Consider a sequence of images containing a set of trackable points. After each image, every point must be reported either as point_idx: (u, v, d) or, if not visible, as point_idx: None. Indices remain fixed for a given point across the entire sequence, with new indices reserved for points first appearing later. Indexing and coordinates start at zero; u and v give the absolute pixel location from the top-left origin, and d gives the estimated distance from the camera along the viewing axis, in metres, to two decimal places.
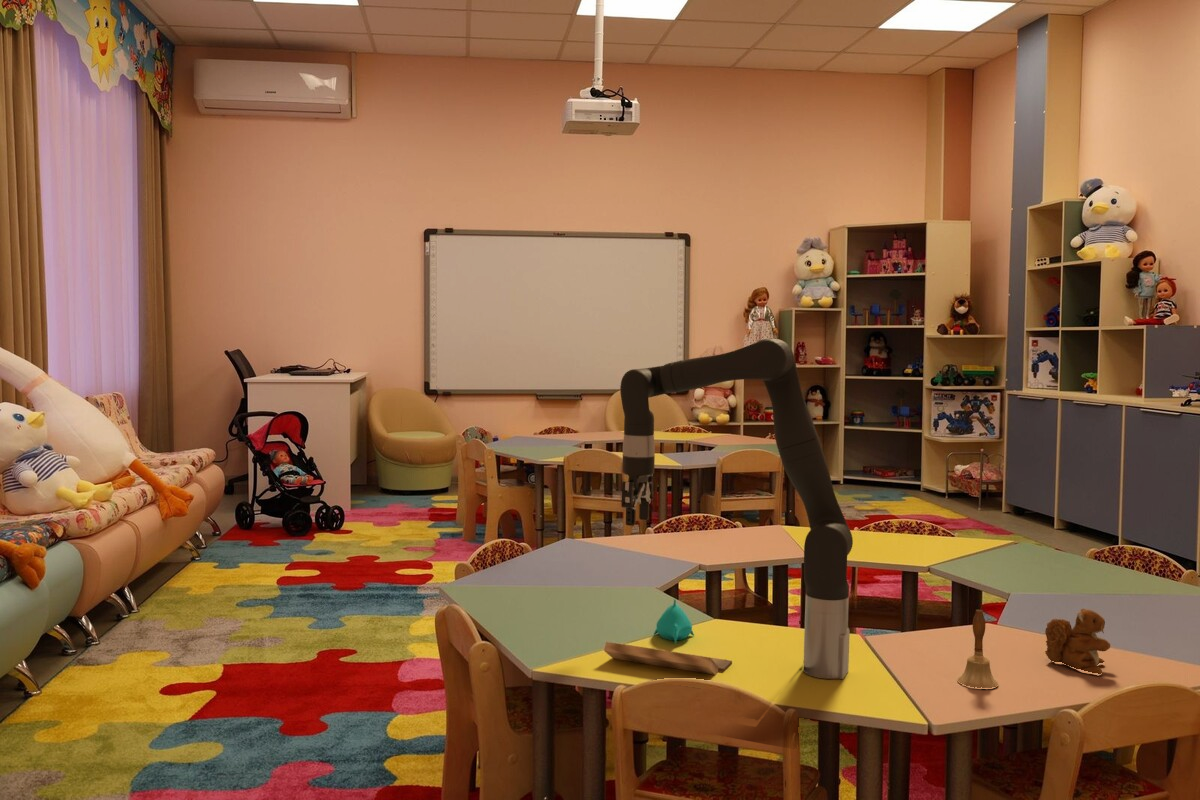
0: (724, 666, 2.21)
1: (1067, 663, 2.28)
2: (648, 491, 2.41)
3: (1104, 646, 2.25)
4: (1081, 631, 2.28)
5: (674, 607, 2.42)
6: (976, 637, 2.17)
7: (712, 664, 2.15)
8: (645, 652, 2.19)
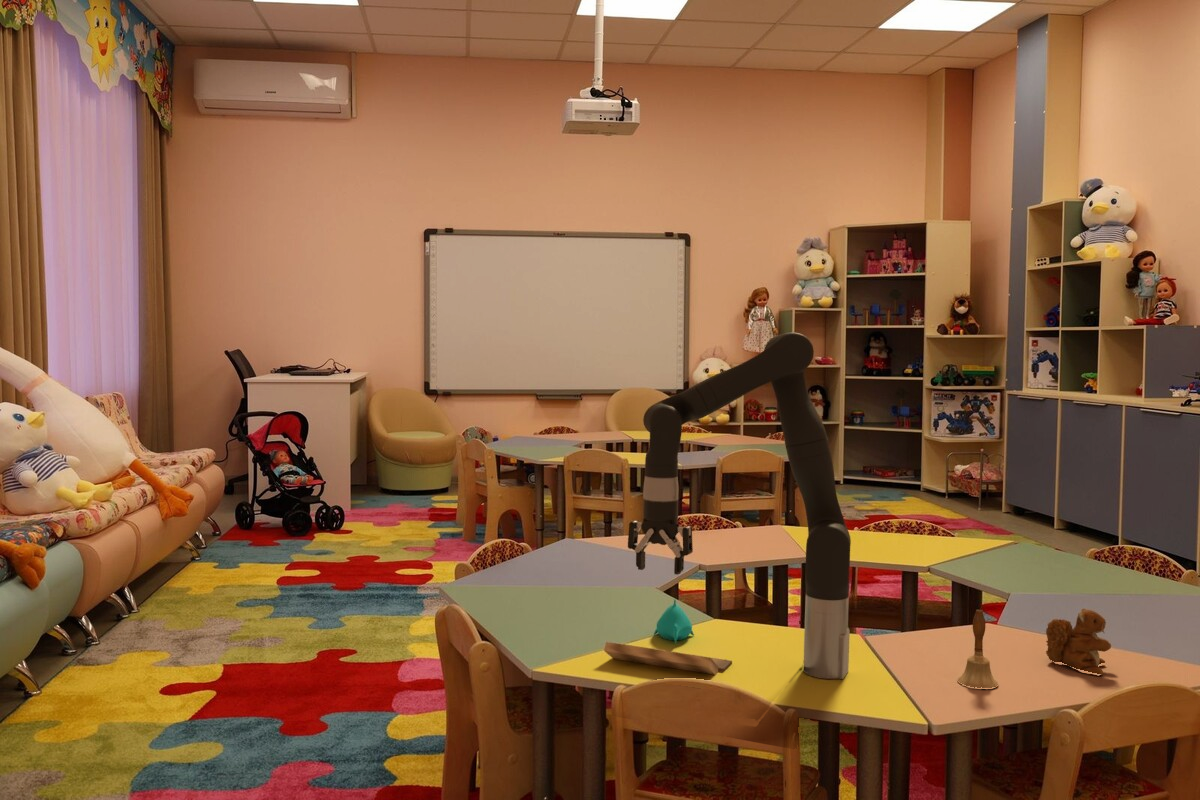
0: (724, 666, 2.21)
1: (1068, 663, 2.28)
2: None
3: (1104, 646, 2.25)
4: (1082, 631, 2.28)
5: (674, 607, 2.42)
6: (976, 637, 2.17)
7: (712, 664, 2.15)
8: (645, 652, 2.19)
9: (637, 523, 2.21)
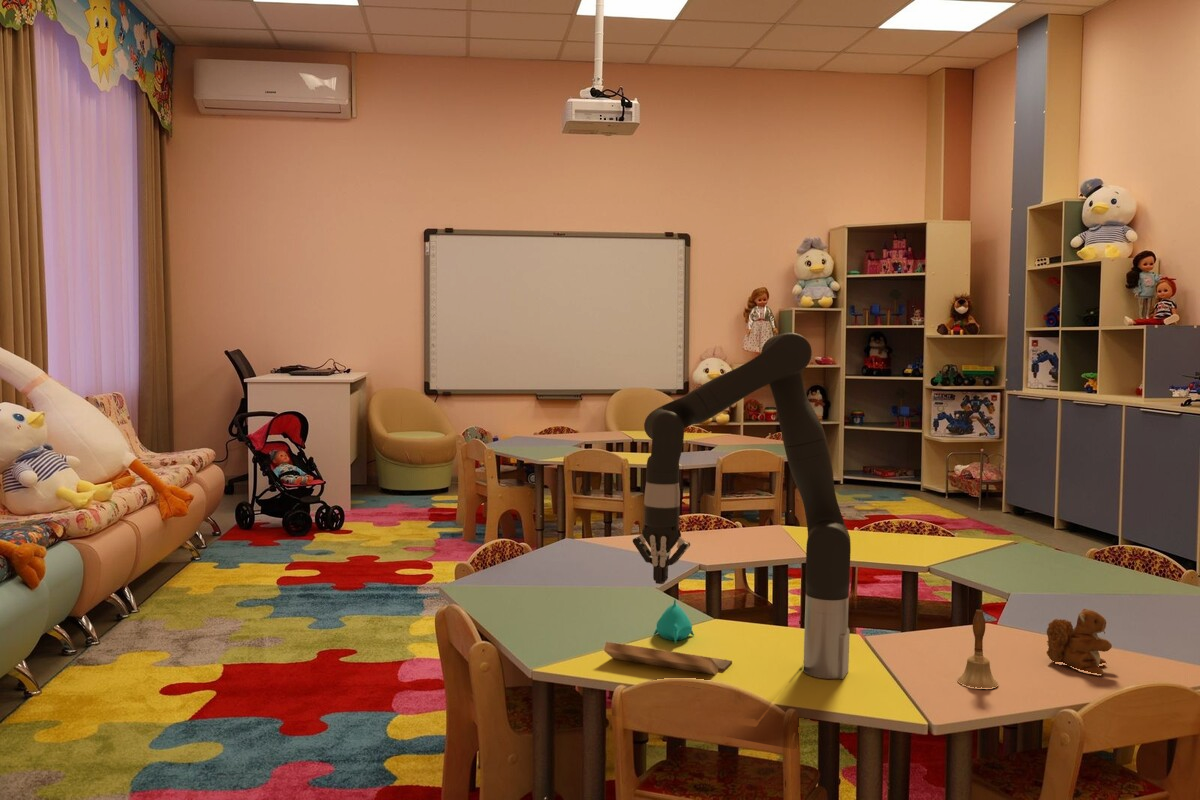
0: (724, 666, 2.21)
1: (1068, 663, 2.28)
2: None
3: (1105, 647, 2.25)
4: (1083, 631, 2.28)
5: (674, 607, 2.42)
6: (976, 637, 2.17)
7: (712, 664, 2.15)
8: (645, 652, 2.19)
9: (639, 537, 2.20)
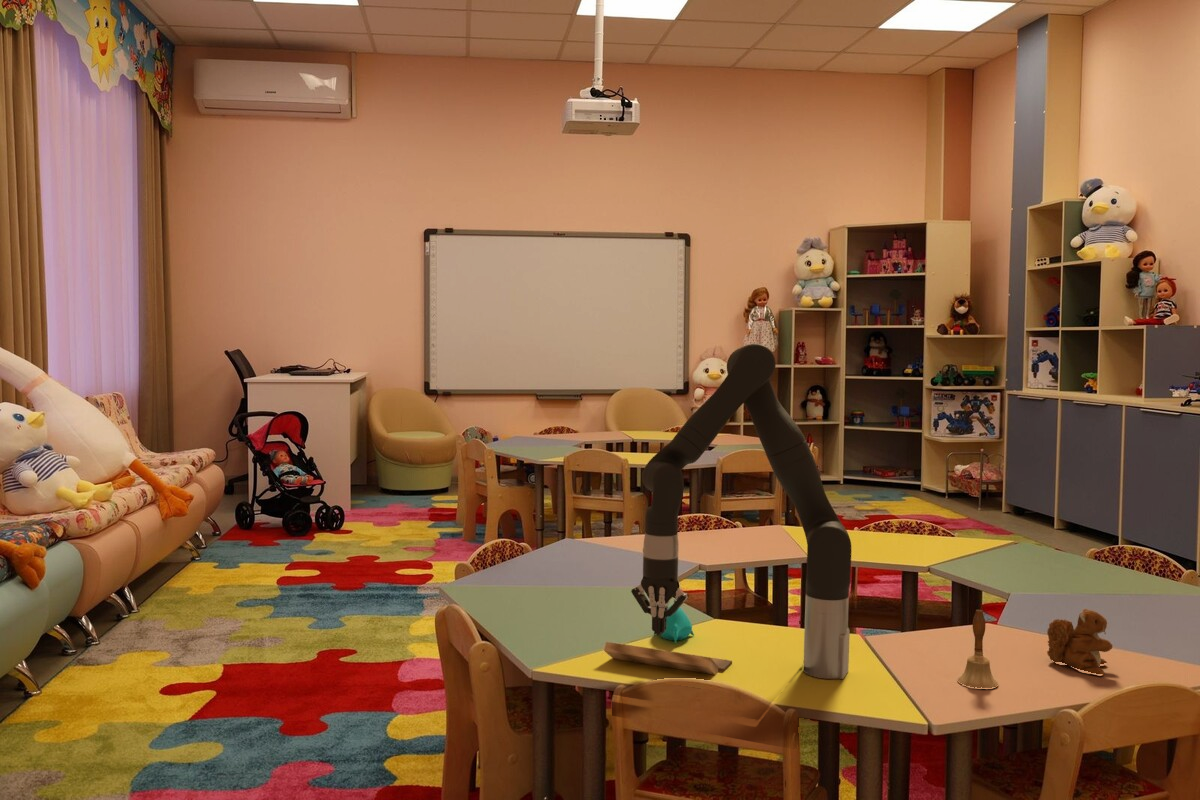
0: (724, 666, 2.21)
1: (1069, 663, 2.28)
2: None
3: (1106, 647, 2.25)
4: (1083, 631, 2.28)
5: None
6: (976, 637, 2.17)
7: (712, 664, 2.15)
8: (645, 652, 2.19)
9: (637, 587, 2.20)
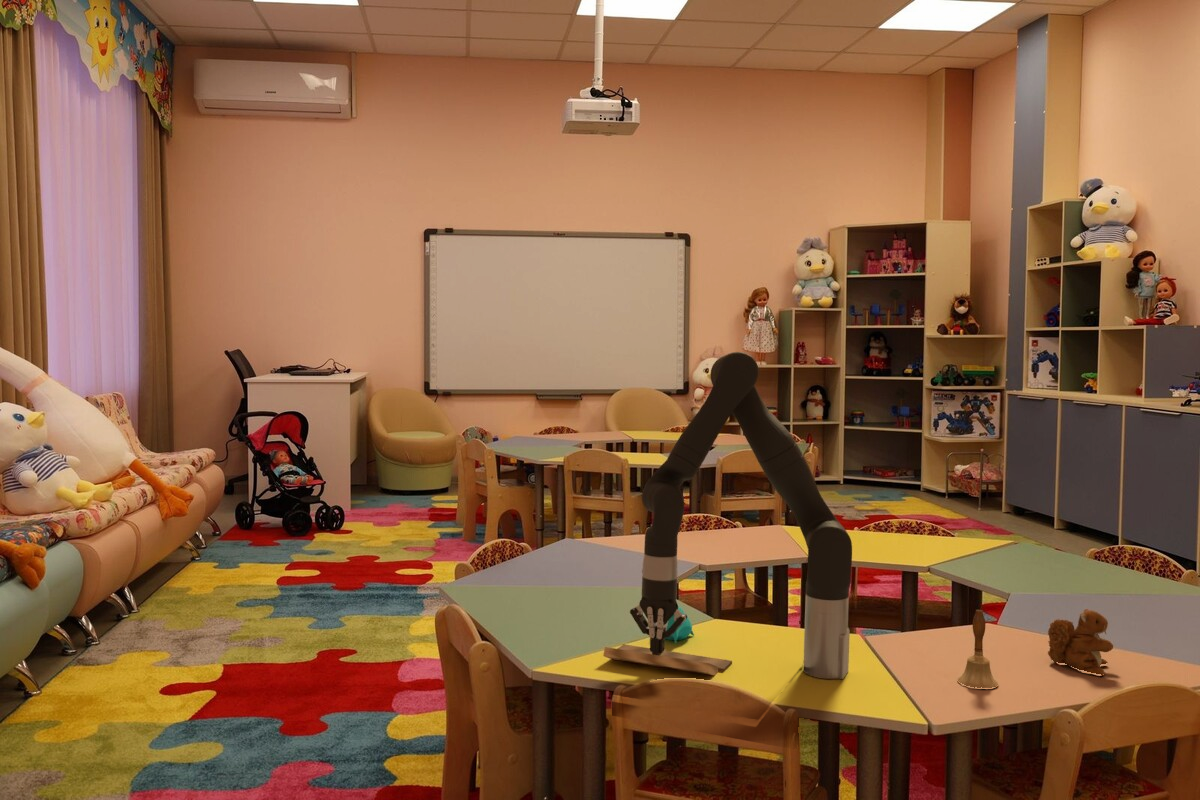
0: (724, 666, 2.21)
1: (1069, 664, 2.28)
2: None
3: (1106, 647, 2.25)
4: (1084, 632, 2.27)
5: None
6: (976, 637, 2.17)
7: (711, 668, 2.15)
8: (644, 657, 2.19)
9: (636, 607, 2.20)
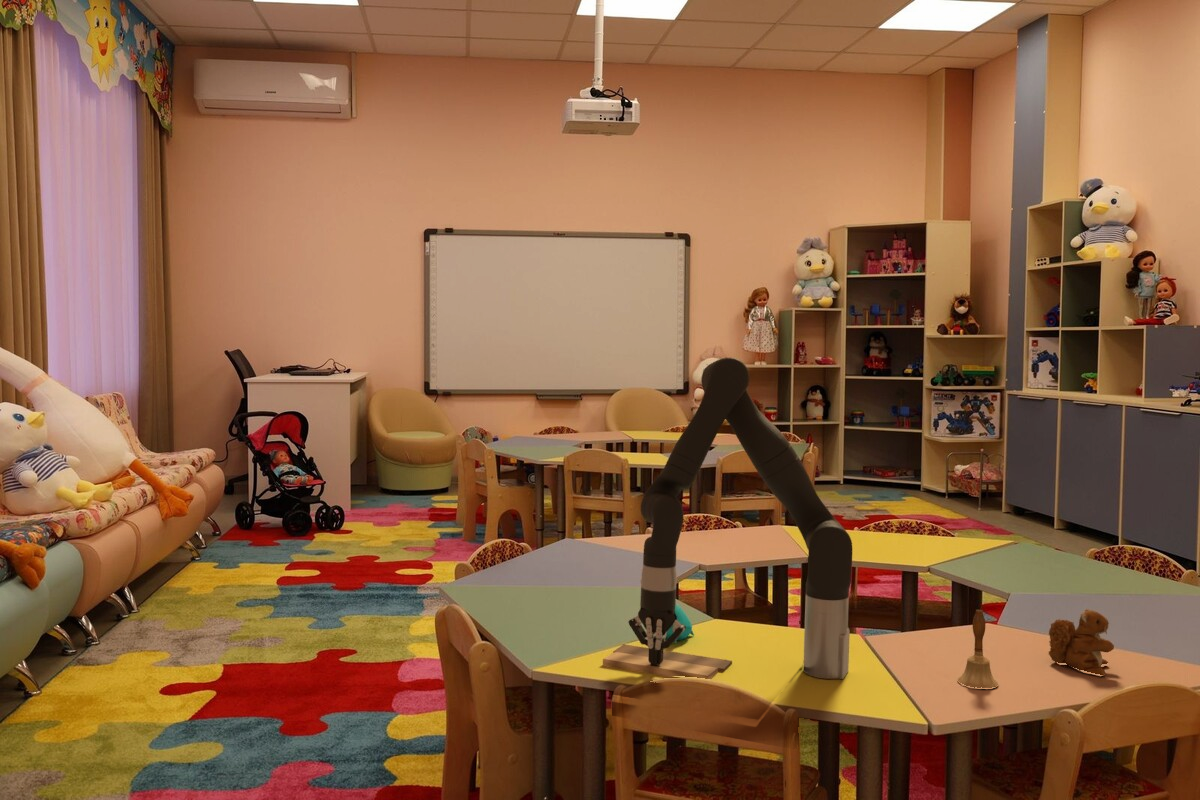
0: (724, 666, 2.21)
1: (1070, 664, 2.28)
2: None
3: (1107, 647, 2.24)
4: (1085, 632, 2.27)
5: None
6: (976, 637, 2.17)
7: (710, 677, 2.14)
8: (643, 669, 2.18)
9: (635, 618, 2.20)
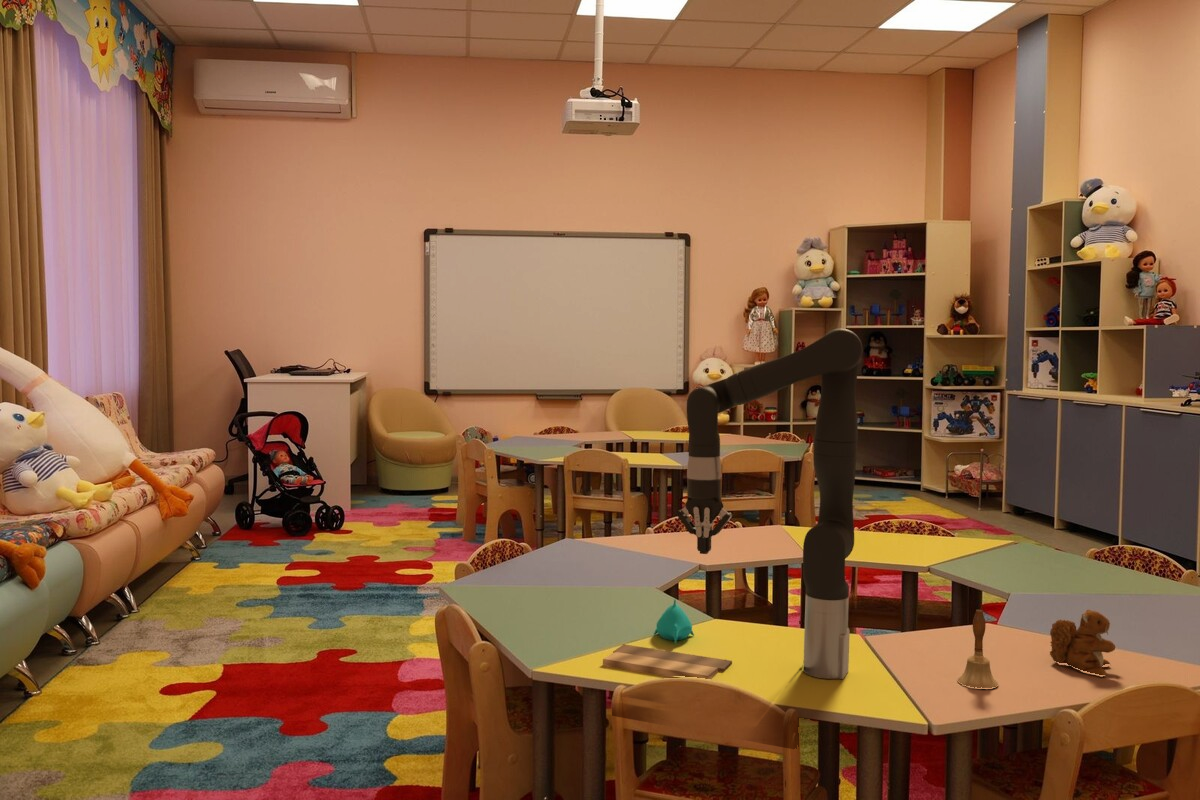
0: (724, 666, 2.21)
1: (1071, 664, 2.28)
2: None
3: (1108, 648, 2.24)
4: (1086, 632, 2.27)
5: (674, 607, 2.42)
6: (976, 637, 2.17)
7: (710, 677, 2.14)
8: (643, 669, 2.18)
9: (682, 509, 2.29)
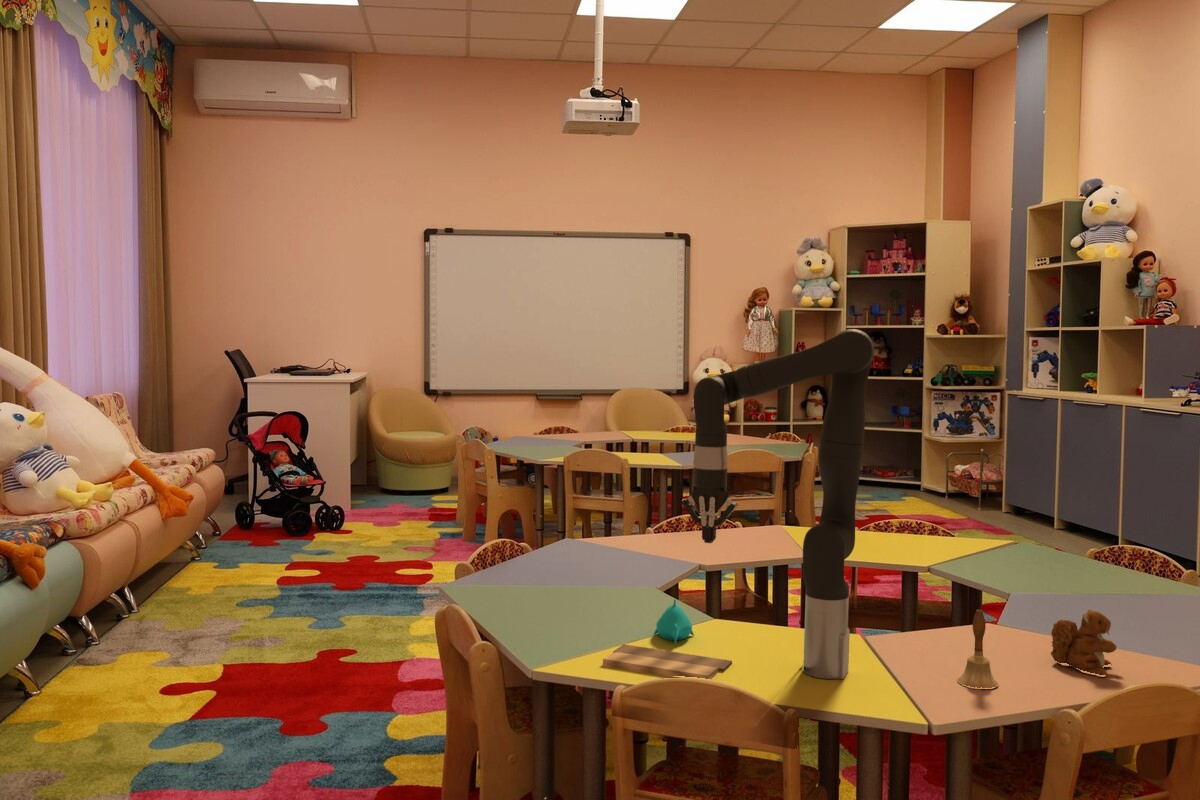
0: (724, 666, 2.21)
1: (1072, 664, 2.28)
2: None
3: (1109, 648, 2.24)
4: (1087, 632, 2.27)
5: (674, 607, 2.42)
6: (976, 637, 2.17)
7: (710, 677, 2.14)
8: (643, 669, 2.18)
9: (688, 498, 2.30)
